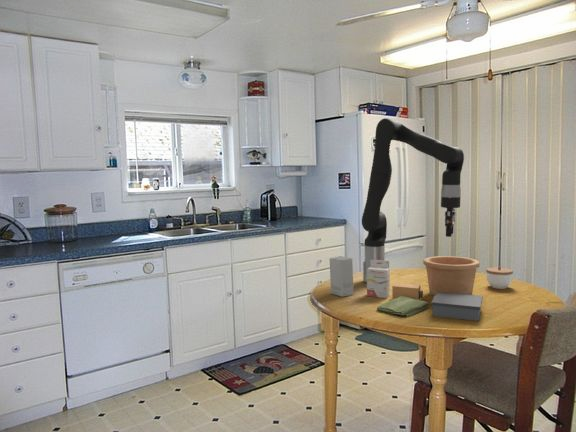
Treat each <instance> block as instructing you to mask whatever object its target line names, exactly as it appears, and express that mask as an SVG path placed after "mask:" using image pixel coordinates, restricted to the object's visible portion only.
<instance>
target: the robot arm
mask: <svg viewBox="0 0 576 432" xmlns="http://www.w3.org/2000/svg"><path fill="white" fill-rule="evenodd" d="M376 124H377V125H376V127H375V128H376V129H375V137H374V138H375V139H374V151H373V159H372V166H371V170H370V176H369V185H368V189H367V197H366V201H365V204H364V205H365V206H364V208H363V213H362V216H361V225H362V228H363V230H365V231H366V232H367V236H366V237H365V239H364V242H363V243H364V261H363V263H362V268H363V269H362V271H363V272H362V275H363V277H362V282H363V283H366V284H367V269H368V268H369V267H370V260H384V261H386V260H385V255H386V253H385V251H386V249H385V243H386V239H387V232H388V229H387V228H388V227H387V226H388V225H387V224H388V222H387V221H388V220H387V217H386V214H385V213H383V212H382V211H381V207H382V206H381V205H382V203H383V199H384V198H385V196H386V194H387V192H388V190H389V187H390V184H391V180H392V174H393V168H392V161H391V156H390V147H391V142H392V141H397V142H399V143H400V142H401V143H404V144H407V145H408V146H410V147H412V148H413V149H415V150H417V151H418V152H420V153H423V154H425V155H427V156H430V157H432V158H434V159H435V160H438V161H439V162H441V163H443V164H446V168H445V170H444V171H443V172H442V176H441V177H442V179H441V190H440V208H442V209H446V211H445V212H444V226H445V237H449V238H452V236H453V234H454V226H455V225H454V224H455V222H456V215H457V214H456V213H457V212H456V209H458V208H461V195H462V194H461V191H462V190H461V173H462V170H463V166H464V159H465V153H464V151H463V150H462V148H460V147H458V146H450V145H447V144H446V143H443V142H441V141H440V140H438V139H436V138H433V137H430V136H428V135H426V134H423V133H421V132H417V131H415V130H413V129H411V128H409V127H407V126H406V125H405V124H403V123H401V122H400V121H397V120H396V119H391V118H385V117H384V118H382V119H380V120H379V121H378V122H377V123H376ZM376 264H383V263H380V262H379V263H376Z"/></svg>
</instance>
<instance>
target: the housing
mask: <svg viewBox="0 0 576 432" xmlns="http://www.w3.org/2000/svg"><path fill="white" fill-rule="evenodd" d="M391 287H392V288H391V289H392V291H391V293H392V296H391V297H392V299H391V300H393V299H397V298H398V297H400V296H405V297H408V298H411V299H414V300H416V299H417V300H420V301H421V299H423V297H424V291H423V290H421V285H420V284H411V283H400V282H399V283H397V282H395V283H393V285H392V286H391Z"/></svg>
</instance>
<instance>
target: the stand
mask: <svg viewBox="0 0 576 432" xmlns="http://www.w3.org/2000/svg"><path fill="white" fill-rule="evenodd" d="M483 299H484V297H483V295H479V294H472V295H469V294H458V293H447V292H437V293H436V295H435V297H434V296H433V298H432V300H431V302H430V305H431V306H432V316H433V317H439V318H441V317H442V318H447V319H448V318H449V319H458V320H467V321H475V322H476V321H477V322H479V320H480V315H481V312H482V311H481V310H482V302H483Z"/></svg>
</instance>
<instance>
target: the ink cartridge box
mask: <svg viewBox="0 0 576 432" xmlns="http://www.w3.org/2000/svg"><path fill="white" fill-rule="evenodd" d="M379 262H380V263H383V264H376V263H379ZM390 272H391V269H390V260H385V261H384V260H370V267H369V268H368V269H367V283H366V296H367V297H374V298H381V299H382V298H384V299H388V298H389V296H390V281H391V280H390V279H391V276H390V275H391V274H390Z"/></svg>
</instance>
